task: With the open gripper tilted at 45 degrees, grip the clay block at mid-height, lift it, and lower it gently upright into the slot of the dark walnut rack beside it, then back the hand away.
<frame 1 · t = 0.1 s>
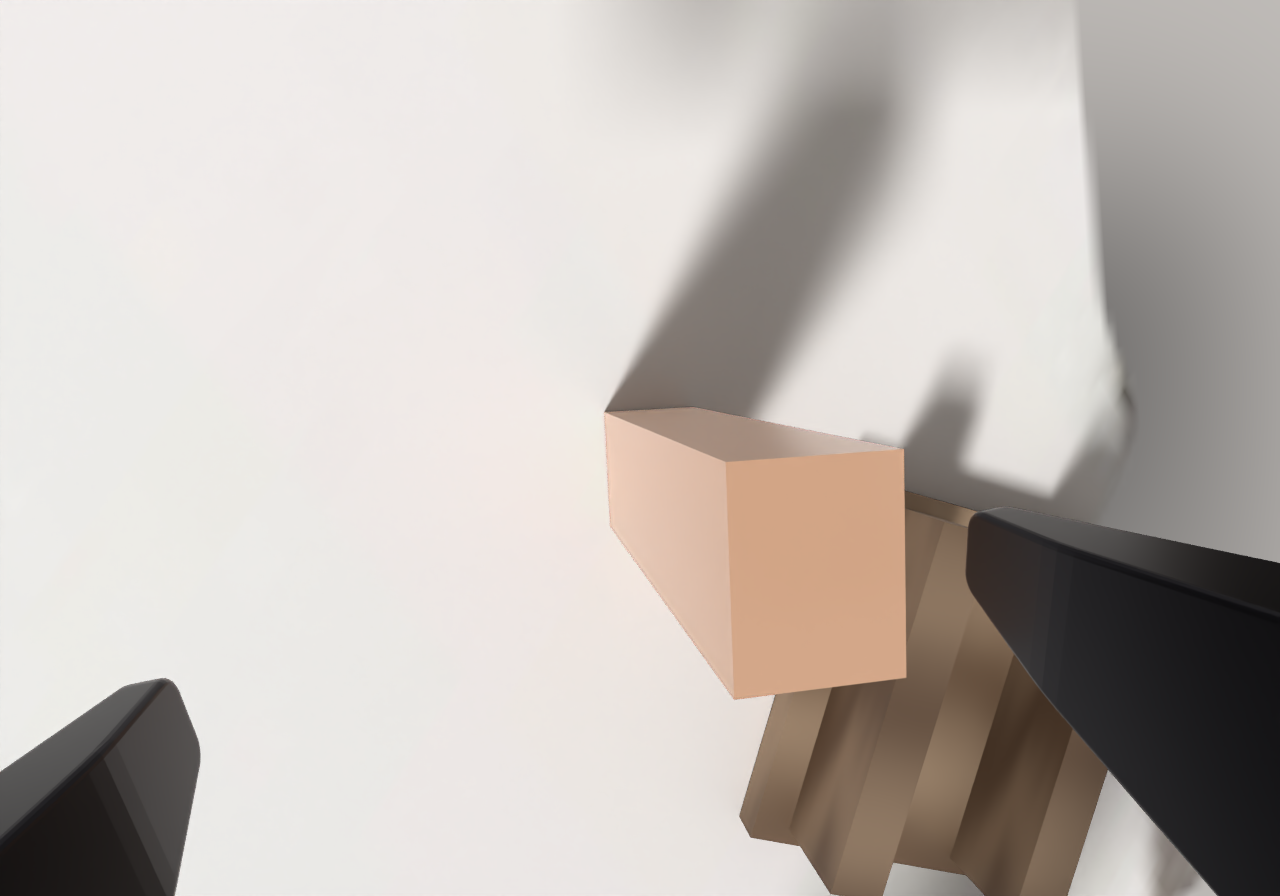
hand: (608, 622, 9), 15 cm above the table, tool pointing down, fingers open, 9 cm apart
slot rack: (921, 676, 27), on the table
clay block: (651, 466, 25), on the table
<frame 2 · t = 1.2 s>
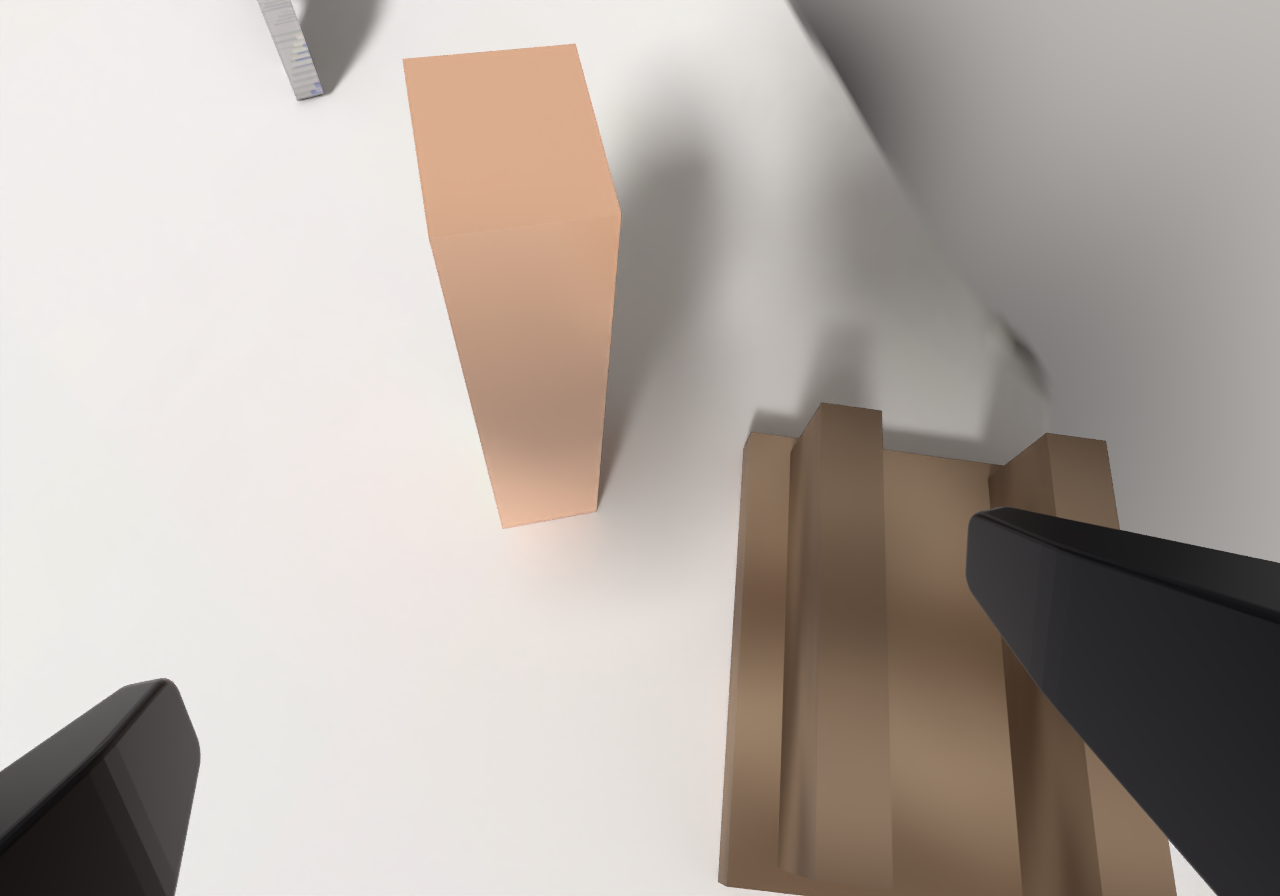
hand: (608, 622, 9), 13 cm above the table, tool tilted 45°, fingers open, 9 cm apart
slot rack: (906, 662, 22), on the table
clay block: (539, 464, 24), on the table
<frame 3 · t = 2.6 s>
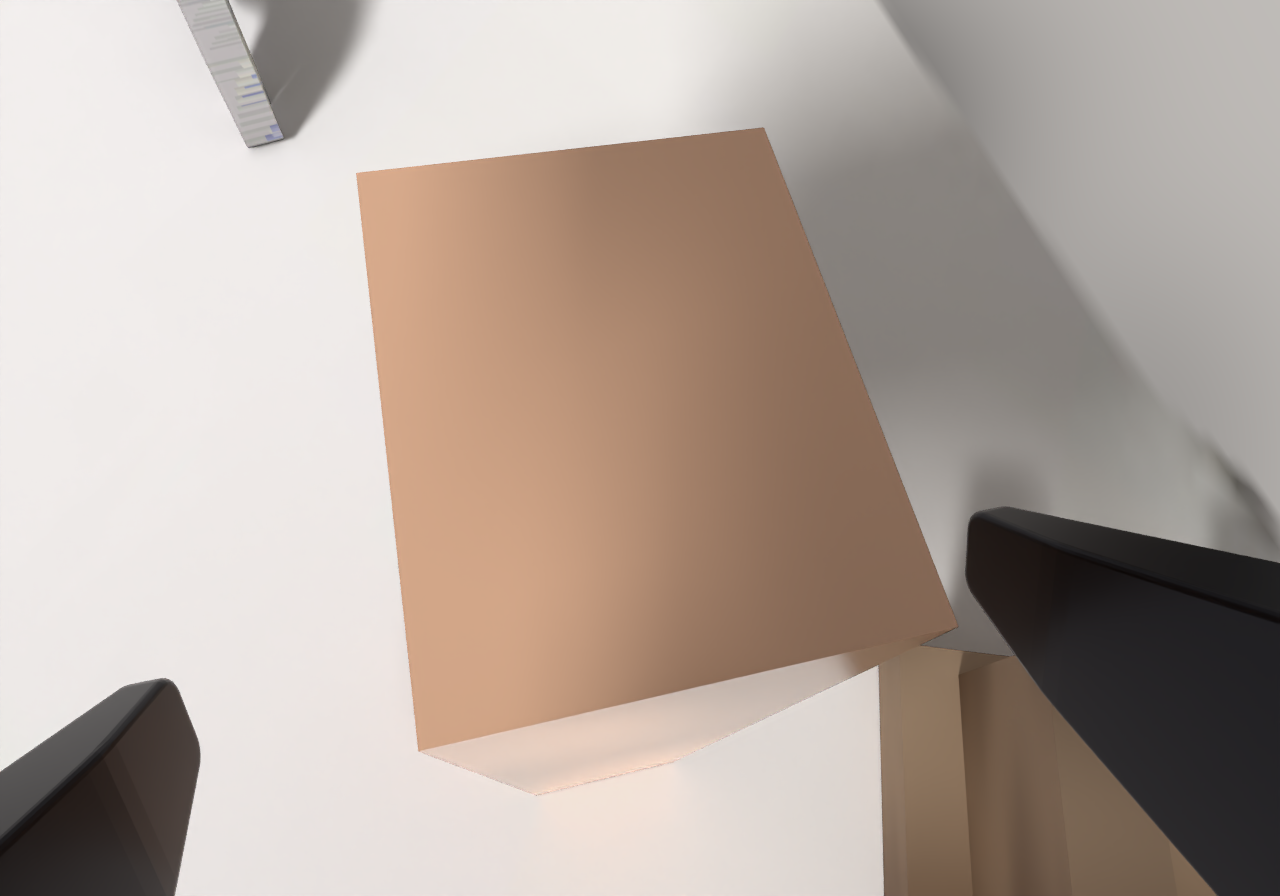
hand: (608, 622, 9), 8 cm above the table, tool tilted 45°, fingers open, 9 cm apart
clay block: (588, 687, 16), on the table
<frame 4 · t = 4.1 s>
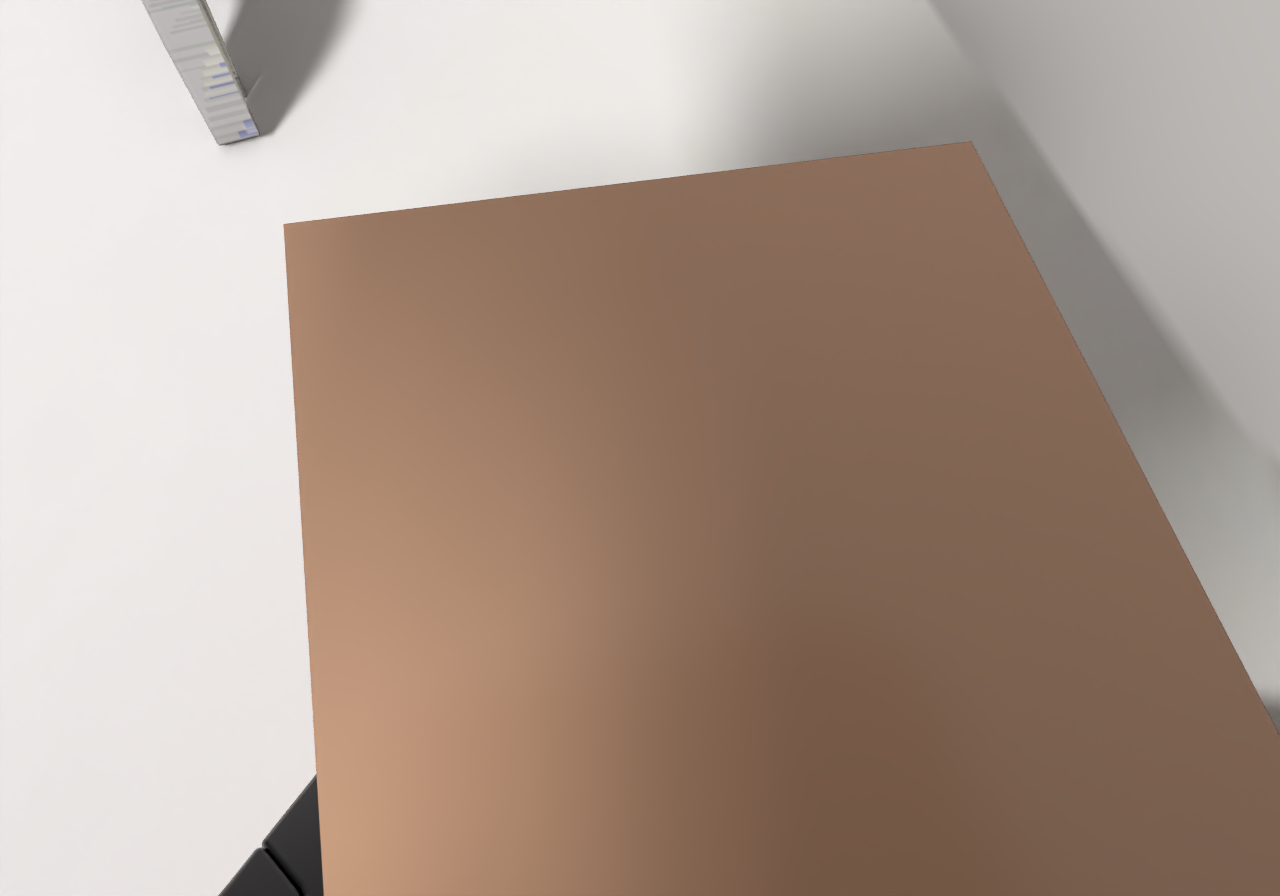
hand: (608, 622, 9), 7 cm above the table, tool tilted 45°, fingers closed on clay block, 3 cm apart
clay block: (608, 772, 14), on the table, touching gripper
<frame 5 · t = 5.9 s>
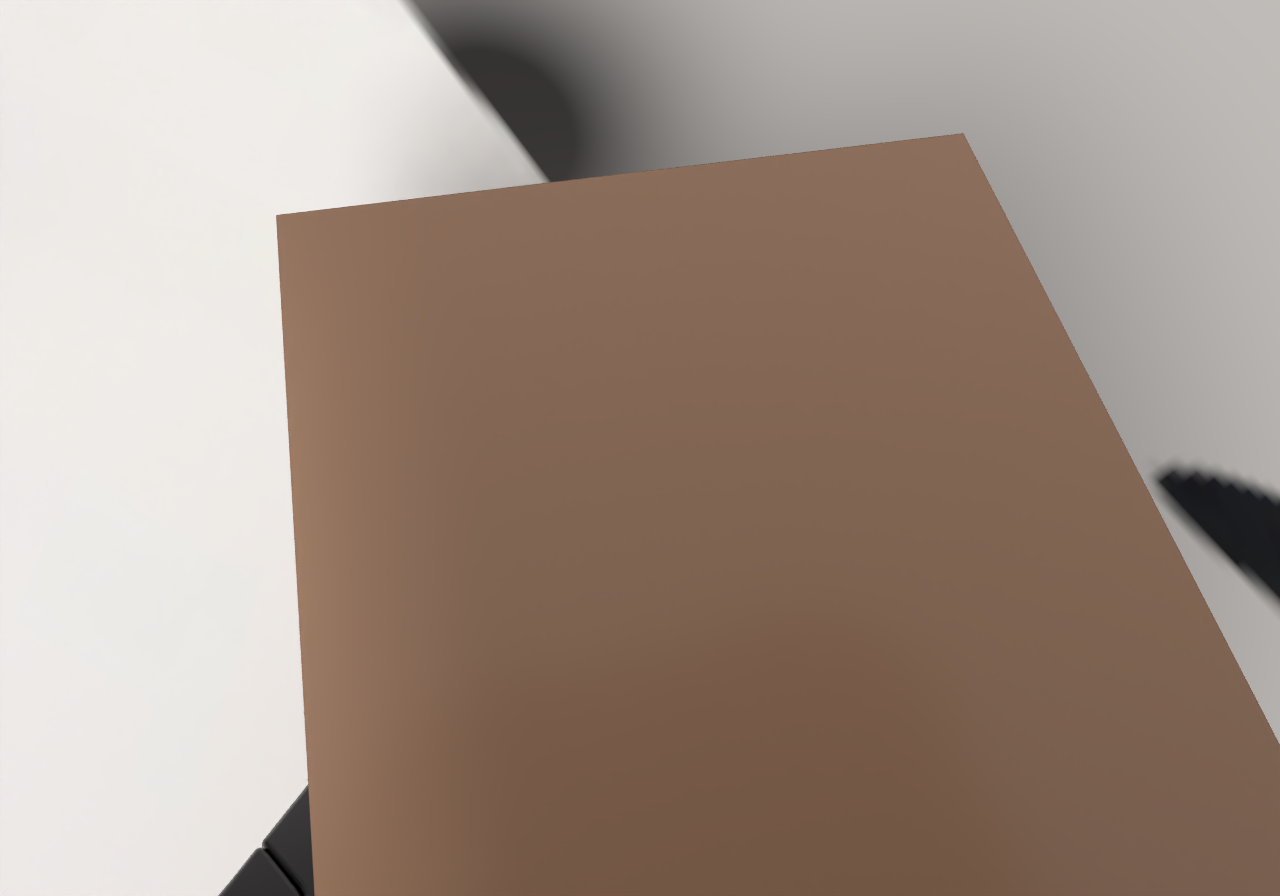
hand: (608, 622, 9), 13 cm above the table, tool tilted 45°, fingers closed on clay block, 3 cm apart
clay block: (607, 770, 14), point 7 cm above the table, touching gripper
when the fingers open (9 cm above the table, at t = 7.8 s): clay block drops 1 cm, resting on slot rack.
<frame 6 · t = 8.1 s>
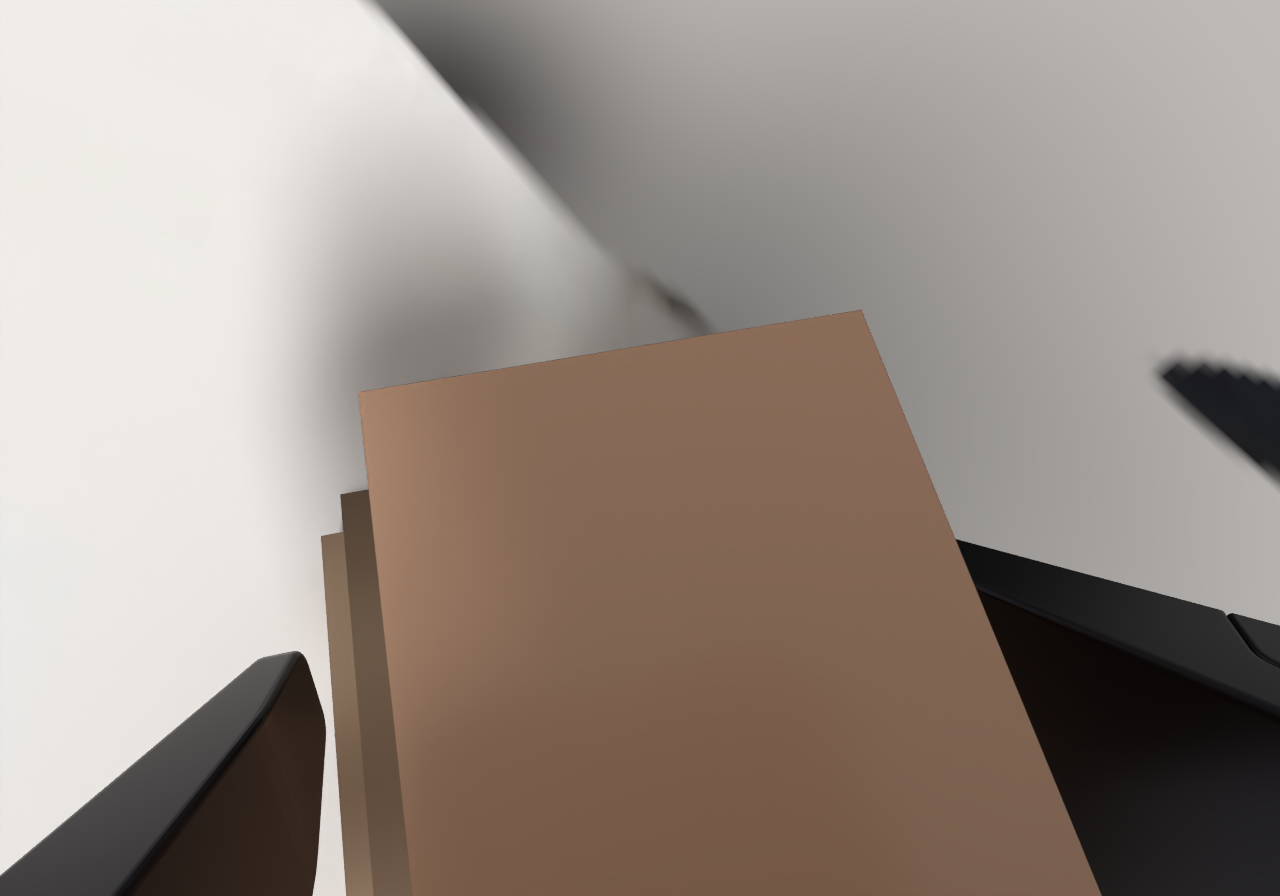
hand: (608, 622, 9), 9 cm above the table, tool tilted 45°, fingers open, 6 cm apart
slot rack: (603, 776, 16), on the table
clay block: (604, 773, 15), point 1 cm above the table, touching slot rack
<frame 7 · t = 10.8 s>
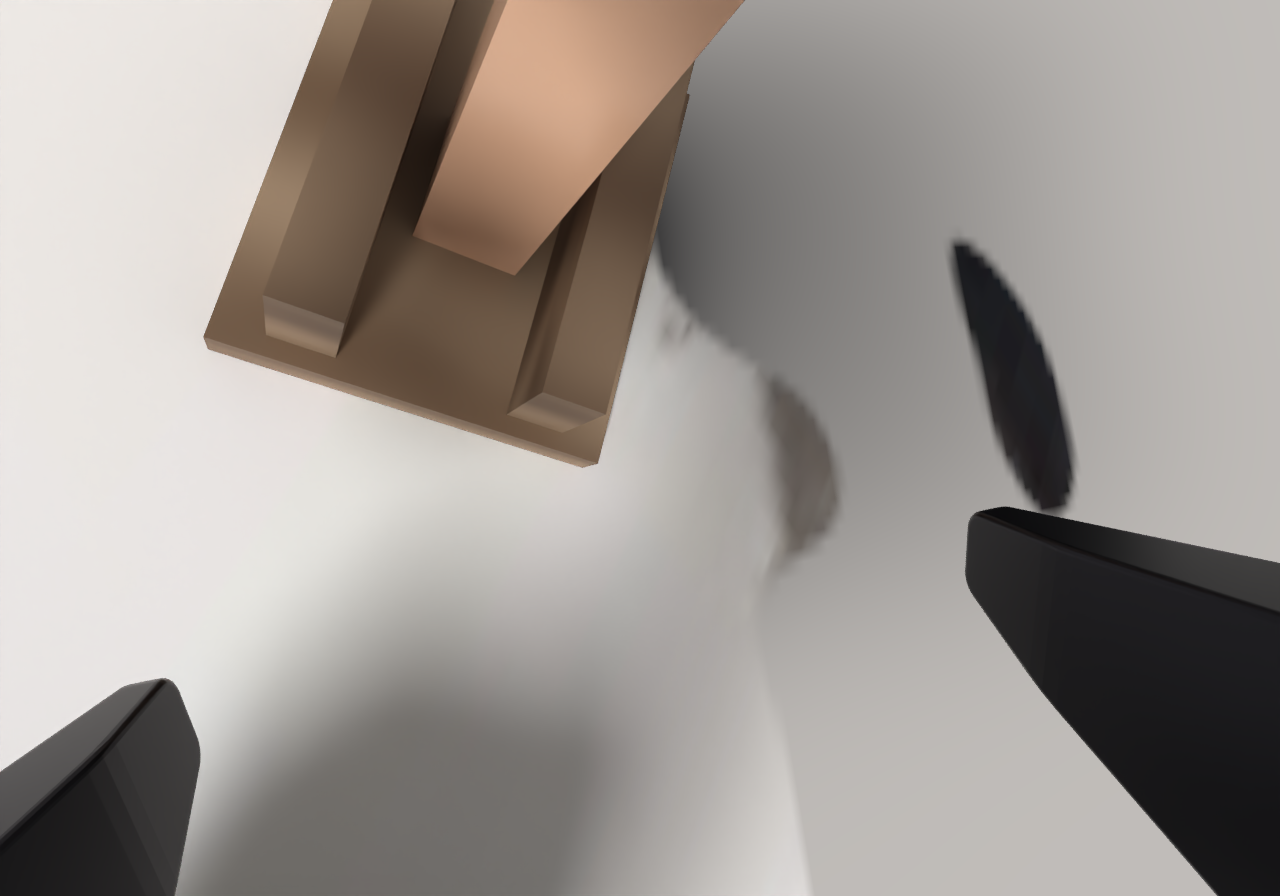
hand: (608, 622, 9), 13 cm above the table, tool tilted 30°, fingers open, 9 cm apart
slot rack: (473, 215, 22), on the table
clay block: (482, 196, 21), point 1 cm above the table, touching slot rack
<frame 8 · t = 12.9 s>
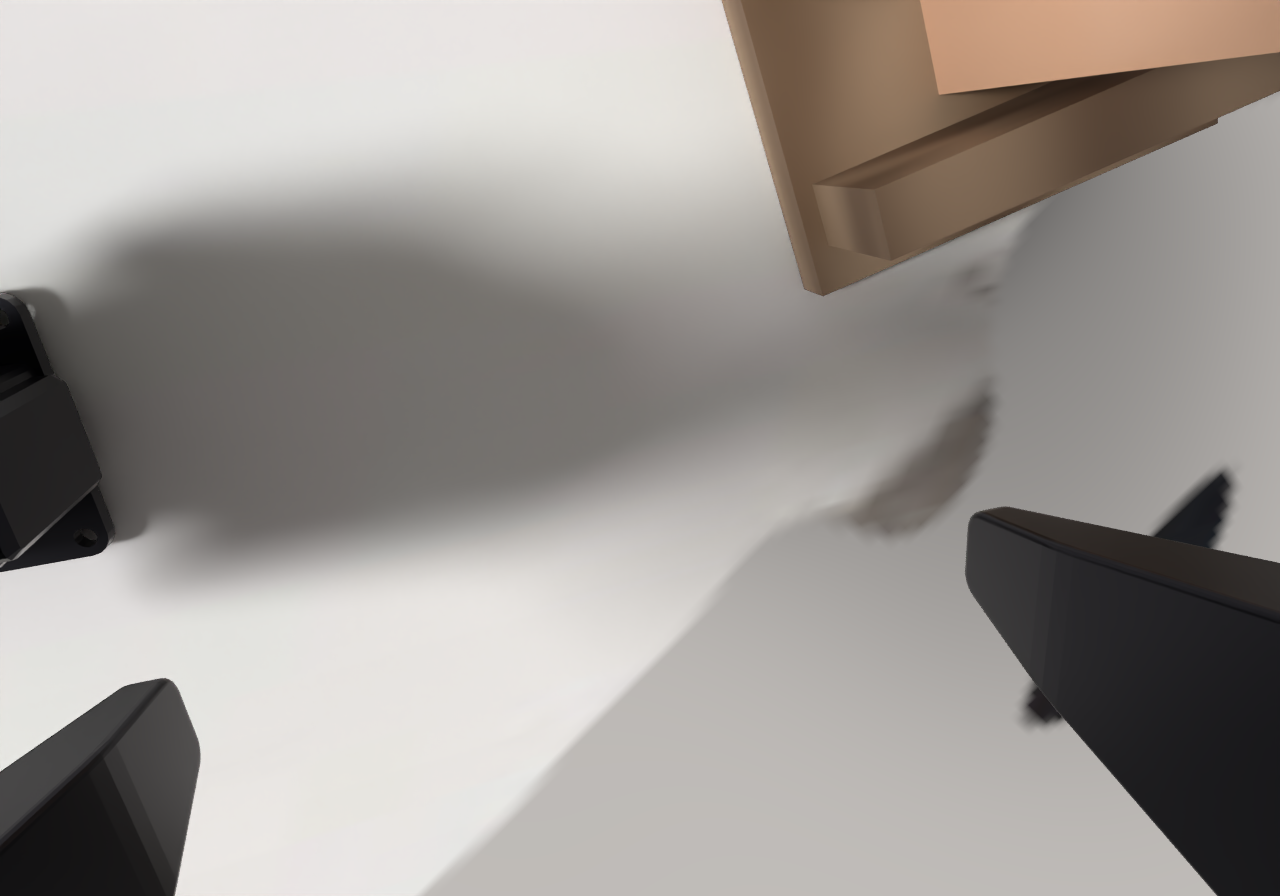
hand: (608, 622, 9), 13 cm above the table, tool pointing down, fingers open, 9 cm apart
slot rack: (962, 16, 20), on the table
clay block: (992, 7, 19), point 1 cm above the table, touching slot rack
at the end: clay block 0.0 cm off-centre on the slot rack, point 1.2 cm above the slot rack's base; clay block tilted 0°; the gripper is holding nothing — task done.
